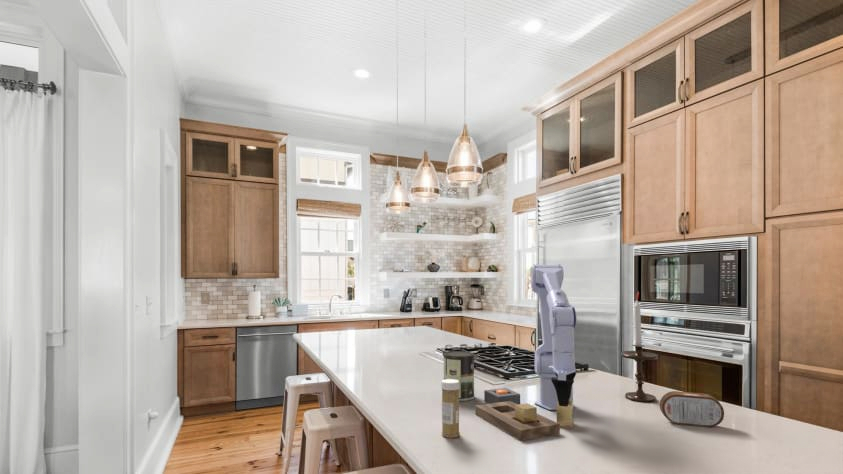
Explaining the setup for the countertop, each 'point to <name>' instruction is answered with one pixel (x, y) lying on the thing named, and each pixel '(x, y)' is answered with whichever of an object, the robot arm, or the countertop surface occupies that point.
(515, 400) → the button housing
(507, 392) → the button
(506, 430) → the wooden socket board
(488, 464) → the countertop surface
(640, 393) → the candlestick
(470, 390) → the coffee can
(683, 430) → the countertop surface
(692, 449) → the countertop surface
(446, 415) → the sprinkles bottle
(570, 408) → the loose billet
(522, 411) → the block
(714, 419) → the tin
